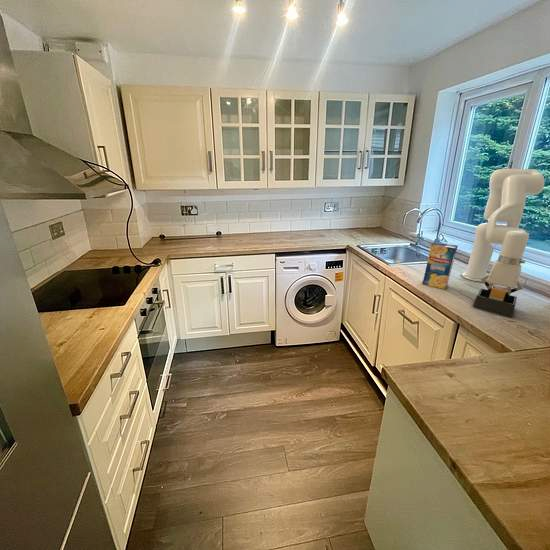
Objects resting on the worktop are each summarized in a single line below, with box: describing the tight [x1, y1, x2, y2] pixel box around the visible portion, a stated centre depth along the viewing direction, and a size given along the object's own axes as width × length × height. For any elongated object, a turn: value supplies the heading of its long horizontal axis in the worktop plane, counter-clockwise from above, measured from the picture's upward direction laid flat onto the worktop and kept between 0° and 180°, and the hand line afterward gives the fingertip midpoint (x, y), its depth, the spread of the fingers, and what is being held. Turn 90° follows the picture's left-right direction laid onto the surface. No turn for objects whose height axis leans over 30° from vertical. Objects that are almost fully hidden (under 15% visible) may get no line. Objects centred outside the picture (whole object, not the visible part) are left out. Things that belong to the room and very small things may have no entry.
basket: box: [473, 287, 518, 318], centre depth 129 cm, size 14×12×6 cm
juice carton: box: [489, 284, 507, 301], centre depth 128 cm, size 6×5×9 cm
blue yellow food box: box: [422, 241, 459, 290], centre depth 150 cm, size 7×11×22 cm, turn 51°
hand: (496, 298), depth 128 cm, fingers closed on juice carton, 5 cm apart
